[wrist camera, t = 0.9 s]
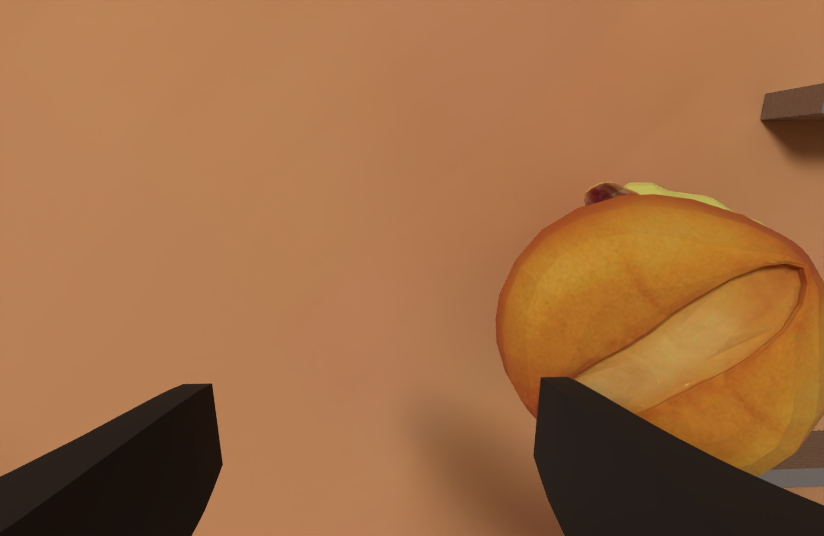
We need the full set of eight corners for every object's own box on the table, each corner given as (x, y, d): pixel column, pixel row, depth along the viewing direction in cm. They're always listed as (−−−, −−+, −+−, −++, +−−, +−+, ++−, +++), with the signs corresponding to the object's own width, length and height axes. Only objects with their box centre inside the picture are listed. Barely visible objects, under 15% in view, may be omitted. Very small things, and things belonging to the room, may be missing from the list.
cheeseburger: (682, 416, 20) (846, 625, 11) (471, 351, 22) (451, 486, 12) (774, 216, 18) (1092, 260, 8) (528, 159, 19) (558, 141, 10)
